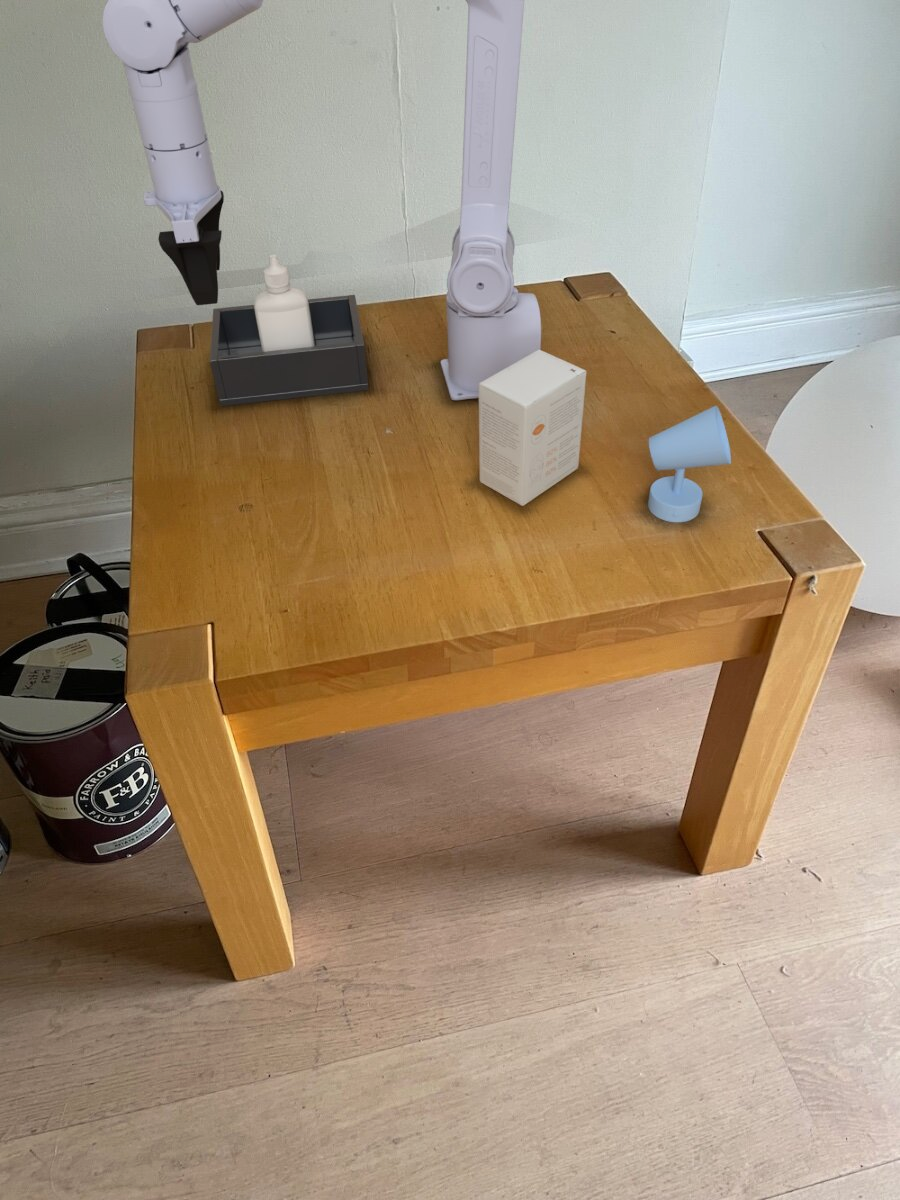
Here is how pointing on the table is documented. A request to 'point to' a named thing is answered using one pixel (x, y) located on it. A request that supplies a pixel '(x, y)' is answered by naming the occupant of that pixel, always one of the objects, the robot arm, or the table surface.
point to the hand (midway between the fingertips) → (208, 286)
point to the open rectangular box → (288, 355)
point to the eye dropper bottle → (282, 312)
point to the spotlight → (686, 463)
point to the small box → (530, 425)
